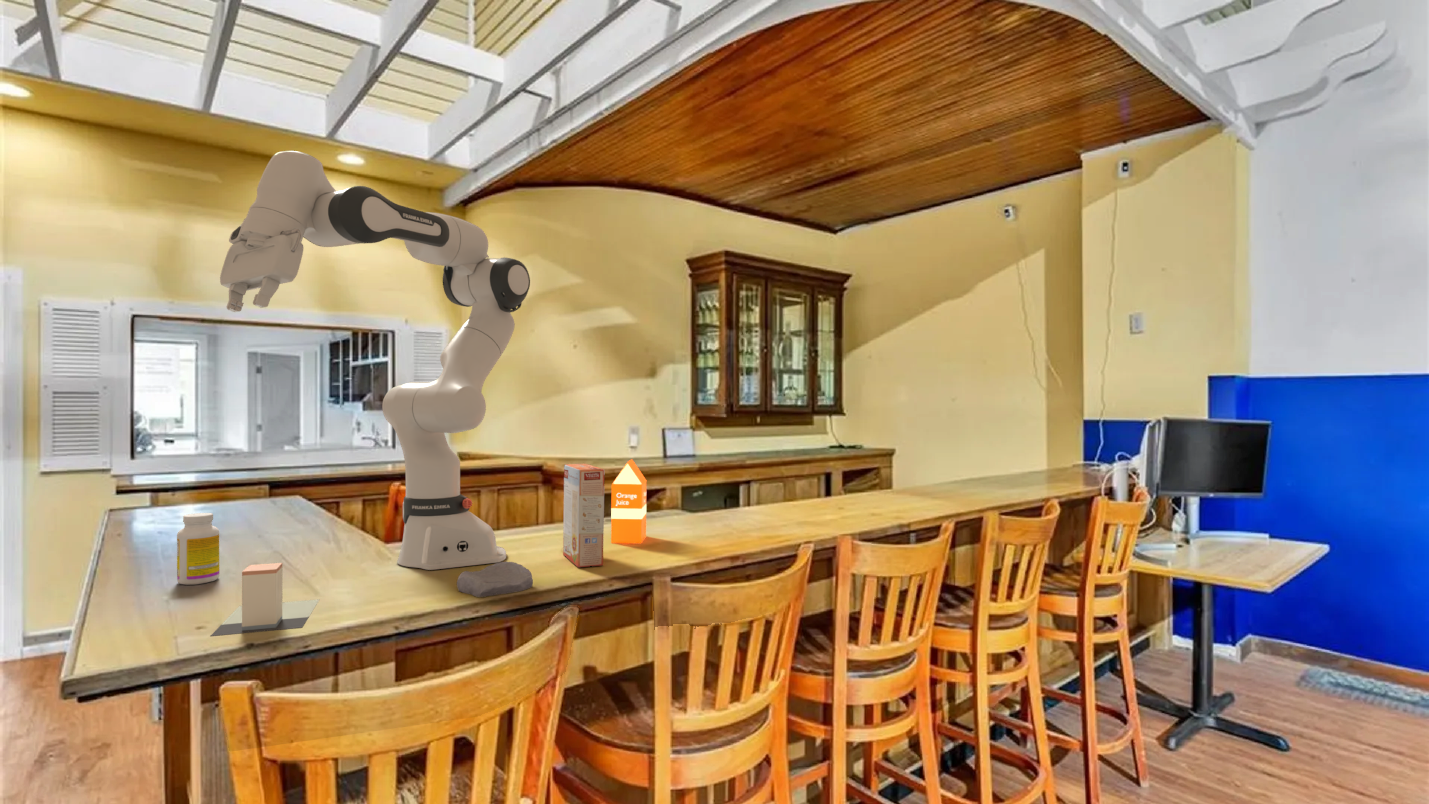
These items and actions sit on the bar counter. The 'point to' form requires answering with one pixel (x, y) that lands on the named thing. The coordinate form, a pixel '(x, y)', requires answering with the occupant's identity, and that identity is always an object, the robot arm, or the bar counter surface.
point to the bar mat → (291, 619)
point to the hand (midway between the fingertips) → (246, 308)
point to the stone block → (495, 580)
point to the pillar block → (261, 596)
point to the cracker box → (583, 514)
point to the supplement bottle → (197, 550)
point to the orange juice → (628, 506)
